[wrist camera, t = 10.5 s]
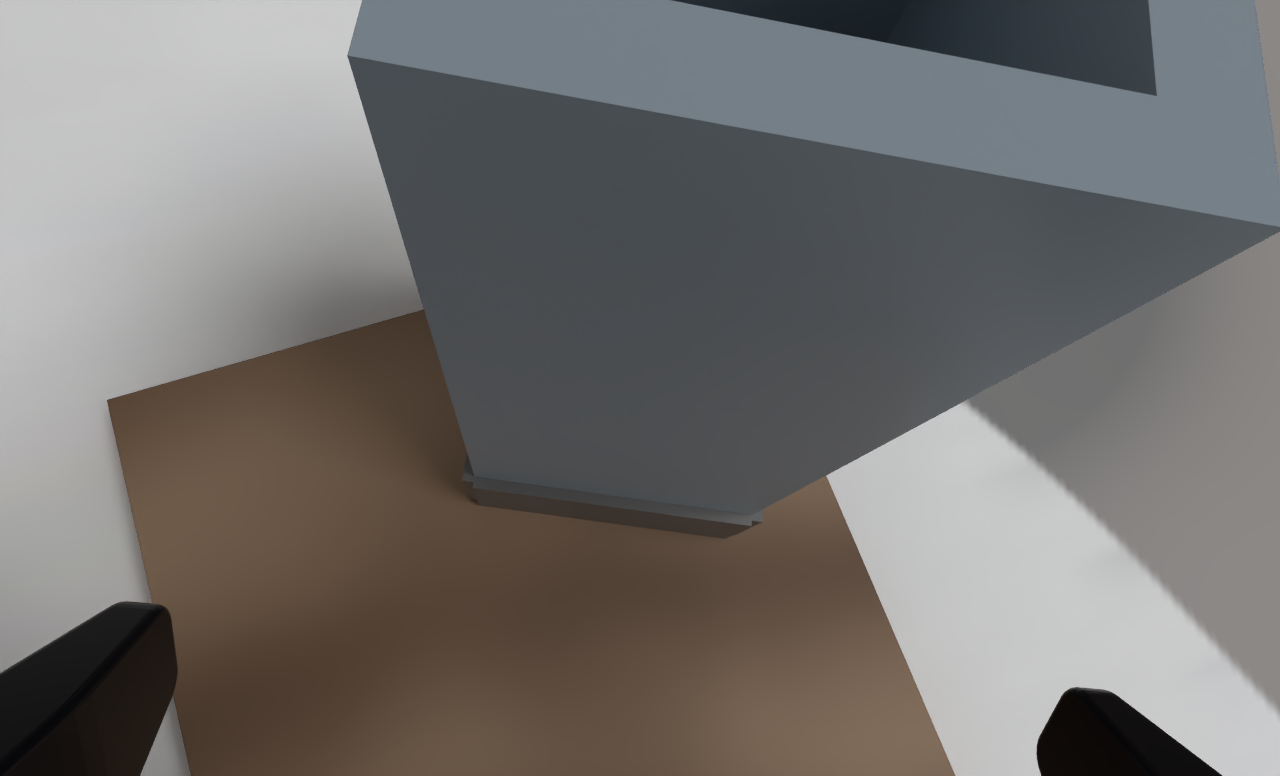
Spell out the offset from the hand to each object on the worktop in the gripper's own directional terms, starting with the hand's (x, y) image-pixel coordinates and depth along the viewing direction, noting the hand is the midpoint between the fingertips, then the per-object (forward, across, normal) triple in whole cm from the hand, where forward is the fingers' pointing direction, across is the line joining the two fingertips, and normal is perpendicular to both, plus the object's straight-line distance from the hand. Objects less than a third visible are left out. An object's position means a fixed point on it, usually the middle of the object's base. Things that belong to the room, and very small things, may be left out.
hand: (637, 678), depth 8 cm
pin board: (+7, +1, +6) cm, 9 cm away
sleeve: (+9, 0, +2) cm, 9 cm away
